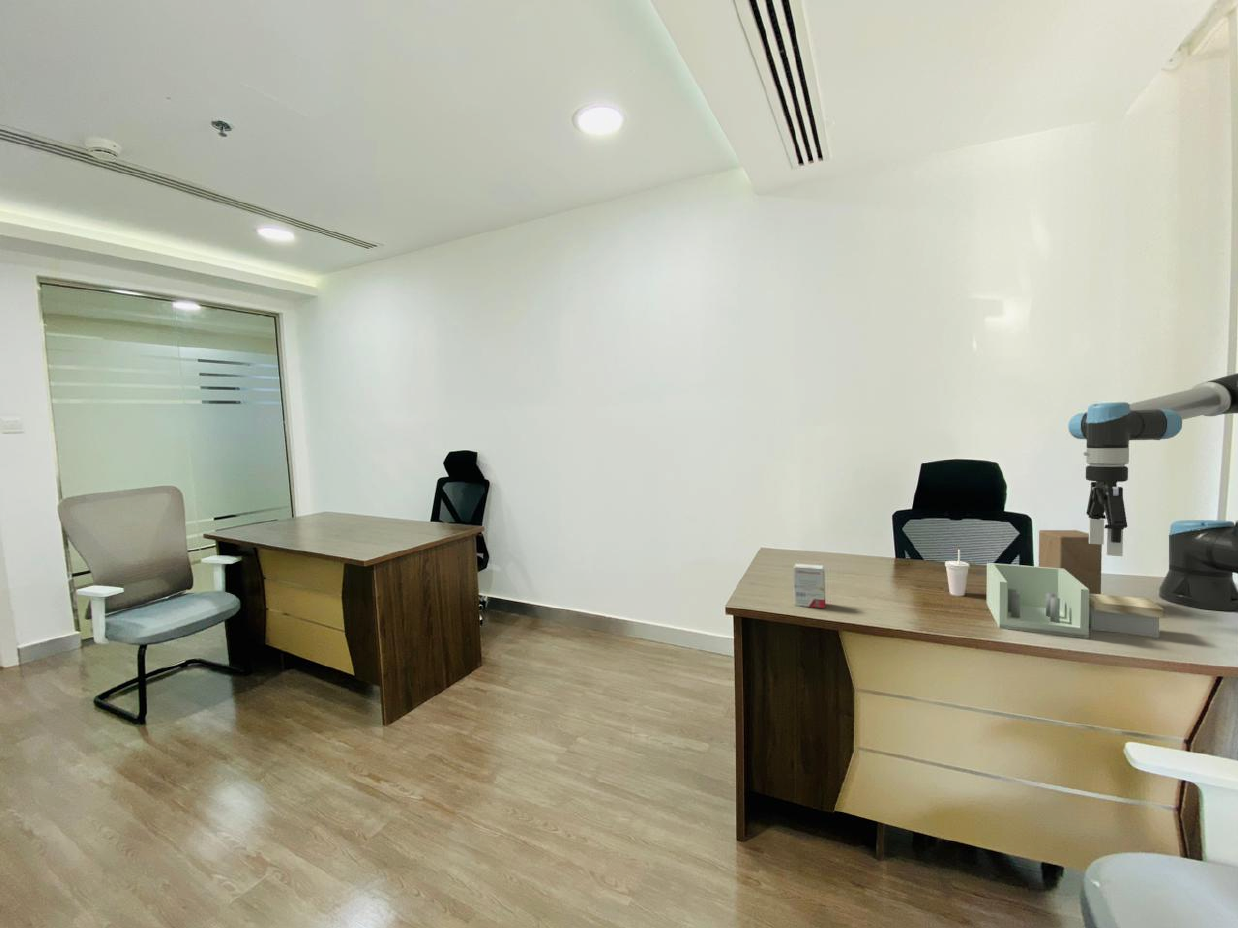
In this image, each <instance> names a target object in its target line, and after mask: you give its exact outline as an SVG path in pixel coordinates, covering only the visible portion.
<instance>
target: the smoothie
mask: <svg viewBox="0 0 1238 928" xmlns="http://www.w3.org/2000/svg"><path fill="white" fill-rule="evenodd" d="M944 566H945V568H946V569H945V570H946V576H947V583H948V588H949V589H948V590H949V594H950V595H951V596H955V597H963V596H965V593H966V588H967V580H968V575H969V569H970V568H971V566H970V563H968V562H965V561H961V549H958V548H957V560H946V561H945V562H944Z"/></svg>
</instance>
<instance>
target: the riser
mask: <svg viewBox="0 0 1238 928" xmlns="http://www.w3.org/2000/svg"><path fill="white" fill-rule="evenodd" d="M1160 618H1161V617H1152V616H1142V615H1133V614H1123V613H1114V612H1104V611H1095V610H1094V609H1092V608H1091V607H1090V606H1089V629H1090V630H1091V631H1092V630H1093V631H1099V632H1100V631H1101V632H1108V633H1109V632H1110V633H1119V634H1127V635H1135V636H1143V637H1151V638H1157V639H1158V638H1160Z"/></svg>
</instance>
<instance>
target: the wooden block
mask: <svg viewBox="0 0 1238 928" xmlns="http://www.w3.org/2000/svg"><path fill="white" fill-rule="evenodd" d="M1102 552H1103V545H1102V544H1089V532H1083V531H1080V530H1076V529H1069V530H1068V529H1066V530H1065V529H1059V530H1058V529H1040V530H1039V531H1038V567H1049V568H1062V569H1065V570H1066V571H1067V572H1069V573H1070V574H1071V575H1072V576H1073V577H1075V578H1076V579H1077V580H1078V581H1079V582H1081V583H1082V584H1083V585H1084V586H1085V587H1087V588H1088V589H1089V593H1090V594H1101V595H1102V557H1103V555H1102Z"/></svg>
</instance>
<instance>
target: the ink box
mask: <svg viewBox="0 0 1238 928" xmlns="http://www.w3.org/2000/svg"><path fill="white" fill-rule="evenodd" d="M825 573H826V572H825V565H819V564H804V563H794V564H793V605H794V606H797V607H806V608H817V609H825V608H826V583H825V582H826V581H825V580H826V578H825V577H826V575H825Z"/></svg>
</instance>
